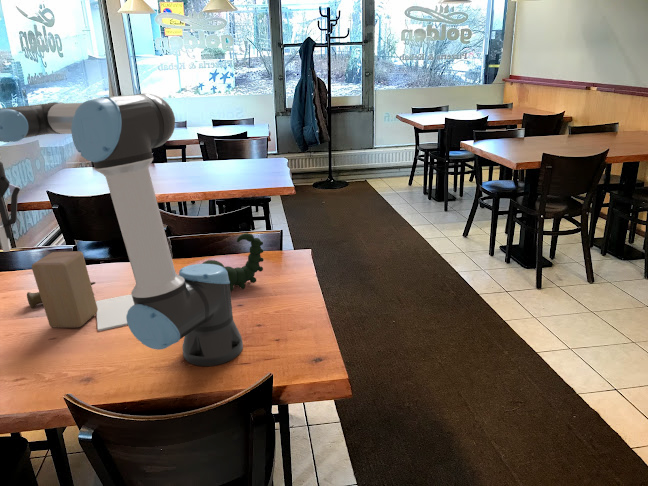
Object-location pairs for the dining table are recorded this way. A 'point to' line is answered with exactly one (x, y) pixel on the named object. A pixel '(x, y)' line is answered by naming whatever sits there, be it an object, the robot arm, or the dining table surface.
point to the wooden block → (65, 289)
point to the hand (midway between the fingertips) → (7, 249)
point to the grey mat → (113, 312)
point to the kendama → (37, 298)
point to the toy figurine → (248, 271)
